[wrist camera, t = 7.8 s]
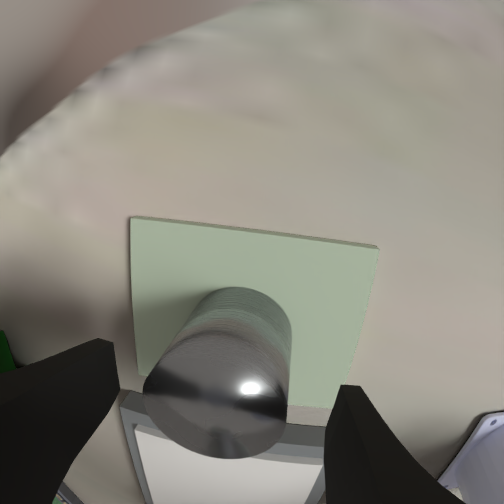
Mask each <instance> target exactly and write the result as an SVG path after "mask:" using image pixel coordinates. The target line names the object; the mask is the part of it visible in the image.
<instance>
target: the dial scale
mask: <svg viewBox="0 0 504 504" xmlns="http://www.w3.org/2000/svg"><path fill="white" fill-rule="evenodd" d="M119 407H120V411H121V416H122V420H123V425H124V429H125V433H126V437H127V441H128V445H129V449H130V452H131V456H132V460H133V463H134V467H135V470H136V473H137V477H138V480H139V483H140V486H141V489H142V492H143V495H144V498H145V501H146V504H318V502H319V500H320V498H321V497H322V495H323V493H324V491H325V489H326V488H325V473H324V439H325V429H326V427H317V426H305V425H296V424H287V423H286V426H285V430H284V433H283V435H282V437H281V438H280V440H279V441H278V442H277V443H276V444H275V445H274V446H273V447H271V448H270V449H269V450H267V451H265V452H263V453H261V454H258V455H256V456H252V457H248V458H242V459H220V458H213V457H208V456H204V455H201V454H198V453H195V452H192V451H190V450H188V449H186V448H184V447H182V446H180V445H178V444H177V443H175V442H174V441H172V440H171V439H169V438H168V437H167V436H166V435H164V434H163V433H162V432H161V431H160V430H159V429H158V428H157V426H156V425H155V424H154V423H153V421H152V420H151V418H150V417H149V415H148V413H147V411H146V408H145V405H144V401H143V394H140V393H137V392H134V391H130V392H129V394H128V395H127V397H126V398H125V399H124V401H123V402H122V404H121V405H120V406H119Z"/></svg>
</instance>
